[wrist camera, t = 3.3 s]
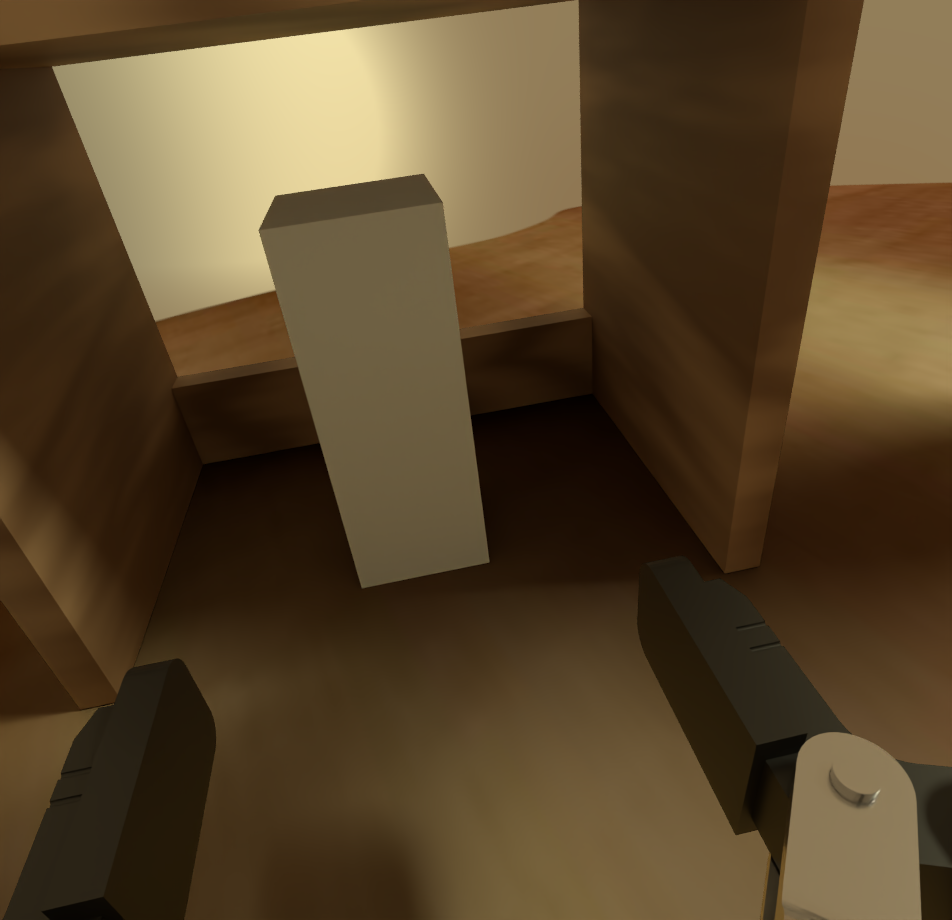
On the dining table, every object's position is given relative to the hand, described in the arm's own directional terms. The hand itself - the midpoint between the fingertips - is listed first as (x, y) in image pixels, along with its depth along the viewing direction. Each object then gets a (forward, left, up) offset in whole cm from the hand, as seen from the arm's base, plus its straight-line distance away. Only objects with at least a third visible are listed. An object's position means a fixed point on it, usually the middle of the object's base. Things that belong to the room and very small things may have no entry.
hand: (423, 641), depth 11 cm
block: (0, -11, -7) cm, 13 cm away
